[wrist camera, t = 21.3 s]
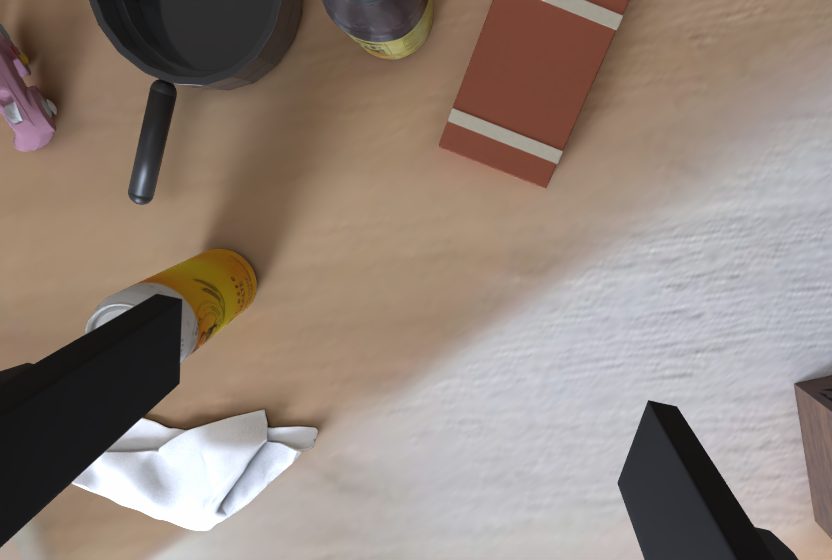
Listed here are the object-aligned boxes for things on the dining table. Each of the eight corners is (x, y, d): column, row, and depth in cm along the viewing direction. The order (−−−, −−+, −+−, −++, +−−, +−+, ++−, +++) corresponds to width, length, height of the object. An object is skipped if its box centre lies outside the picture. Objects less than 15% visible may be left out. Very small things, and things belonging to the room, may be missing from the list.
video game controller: (81, 139, 47) (58, 123, 40) (25, 158, 45) (-7, 145, 39) (20, 26, 45) (-14, -10, 38) (-40, 42, 43) (-86, 8, 37)
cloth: (81, 521, 56) (66, 537, 54) (57, 403, 52) (39, 415, 50) (325, 532, 54) (320, 549, 52) (317, 410, 50) (311, 423, 48)
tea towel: (627, -7, 39) (636, -14, 37) (542, 186, 43) (546, 188, 41) (513, -53, 39) (516, -63, 37) (438, 145, 43) (437, 146, 41)
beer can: (245, 323, 48) (155, 403, 34) (184, 294, 48) (67, 362, 34) (270, 265, 47) (186, 324, 32) (206, 234, 47) (93, 280, 32)
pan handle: (161, 76, 40) (147, 74, 39) (183, 85, 40) (171, 83, 39) (134, 198, 43) (120, 201, 41) (155, 206, 43) (143, 209, 41)
